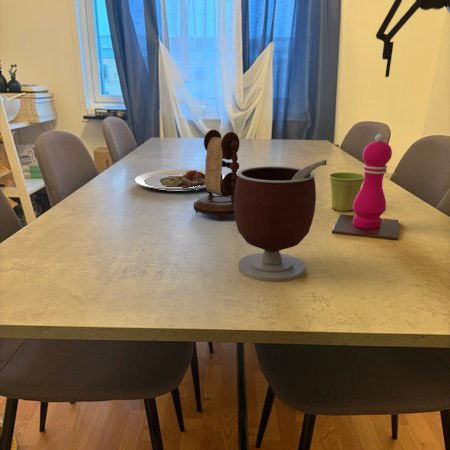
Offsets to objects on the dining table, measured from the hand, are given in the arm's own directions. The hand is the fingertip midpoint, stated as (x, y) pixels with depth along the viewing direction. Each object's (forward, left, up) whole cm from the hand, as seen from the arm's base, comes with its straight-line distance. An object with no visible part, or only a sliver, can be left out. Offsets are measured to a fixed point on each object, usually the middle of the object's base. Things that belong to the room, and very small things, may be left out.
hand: (420, 76), depth 92 cm
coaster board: (+6, +9, -31) cm, 33 cm away
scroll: (+42, +9, -32) cm, 53 cm away
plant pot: (+13, -6, -32) cm, 35 cm away
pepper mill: (+6, +9, -31) cm, 33 cm away
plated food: (+67, -19, -32) cm, 77 cm away
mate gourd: (+20, +40, -32) cm, 55 cm away
